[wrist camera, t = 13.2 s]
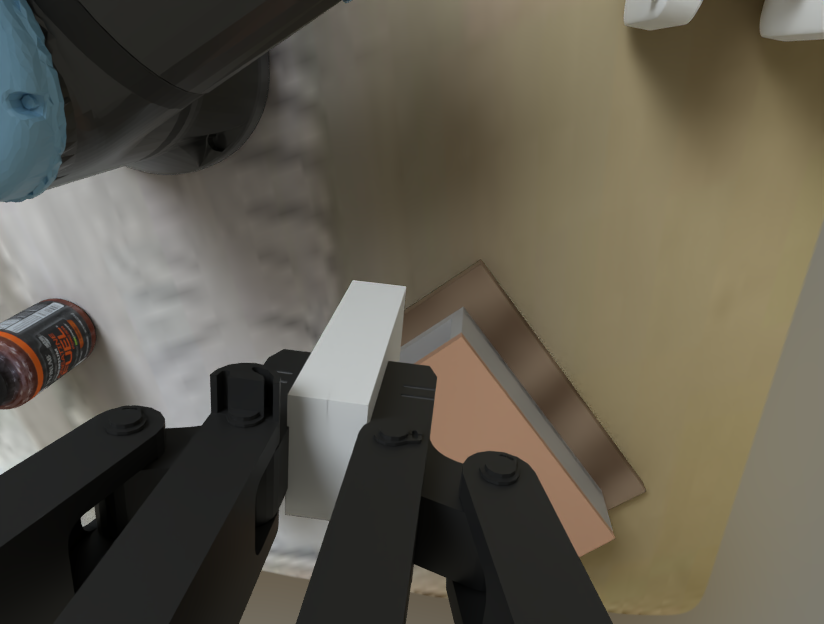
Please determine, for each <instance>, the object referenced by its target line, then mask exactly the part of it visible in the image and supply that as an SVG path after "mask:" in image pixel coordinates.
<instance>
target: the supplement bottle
mask: <svg viewBox="0 0 824 624" xmlns="http://www.w3.org/2000/svg"><path fill="white" fill-rule="evenodd" d="M95 341H96V334H95V328H94V326H93V323H92V322H91V320H90V318H89V317H88V316H87V314H86V313H85V312H84V311H83V310H82V309H81V308H80V307H79V306H77V305H75V304H73V303H71V302H69V301H66V300H63V299H47V300H44V301H41V302H39V303H37V304H35V305H33V306H31V307H29V308H27V309H26V310H24V311H22V312H20V313H18V314H16V315H14V316H13V317H11V318H9V319H7V320H5V321H3V322H1V323H0V409H12V408H16V407H19V406H21V405H23V404H25V403H26V402H28V401H29V400H31V399H32V398H33V397H35V396H36V395H38V394H39V393H40V392H42V391H43V390H44V389H46V388H47V387H49V386H50V385H51V384H52V383H54V382H55V381H56V380H58V379H59V378H61V377H62V376H63V375H65V374H66V373H67V372H69V371H70V370H71V369H73V368H74V367H75V366H77V365H78V364H79V363H81V362H82V361H83V360H84V359H85V358H87V357H88V356H89V355H90V354H91V352H92V351H93V348H94V346H95Z"/></svg>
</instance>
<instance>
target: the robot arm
mask: <svg viewBox="0 0 824 624" xmlns="http://www.w3.org/2000/svg"><path fill="white" fill-rule="evenodd" d="M340 1H342V0H0V202H22V201H24V200H26V199H31V198H34V197H36V196H38V195H40V194H41V193H43V192H44V191H45V190H48V189H51V188H54V187H58V186H61V185H64V184H67V183H71V182H74V181H77V180H80V179H84V178H87V177H90V176H93V175H96V174H100V173H103V172H106V171H109V170H113V169H116V168H119V167H122V166H126V167H129V168H132V169H135V170H139V171H142V172H147V173H152V174H161V175H176V174H185V173H190V172H194V171H197V170H200V169H203V168H206V167H208V166H211V165H213V164H215V163H218V162H220V161H222V160H223V159H225V158H227V157H228V156H230V155H231V154H232V153H234V152H235V151H236V150H237V149H238V148H240V147H241V146H242V145H243V143H244V142H245V141H246V140H247V139H248V138H249V136H250V135H251V134H252V132H253V130H254V129H255V127H256V125H257V123H258V122H259V119H260V117H261V115H262V112H263V109H264V106H265V103H266V99H267V94H268V88H269V74H270V73H269V56H268V51H269V50H271V49H272V48H274V47H275V46H277V45H278V44H279V43H281V42H282V41H284V40H285V39H287V38H288V37H290V36H291V35H292V34H294V33H295V32H297V31H298V30H300V29H301V28H303V27H304V26H305V25H307V24H308V23H310V22H311V21H313V20H314V19H316V18H317V17H319V16H320V15H321V14H323V13H324V12H326V11H327V10H329V9H330V8H332V7H333V6H334V5H336V4H337V3H339V2H340ZM343 1H344V2H345V3H349V2H350V1H352V0H343ZM405 295H406V286H399V285H390V284H382V283H373V282H365V281H356V280H353V281H352V283H351V284H350V286H349V288H348V290H347V291H346V293H345V295H344V297H343V298H342V300H341V302H340V304H339V305H338V307H337V309H336V311H335V312H334V314H333V316H332V318H331V319H330V321H329V323H328V325H327V326H326V328H325V330H324V332H323V333H322V335H321V337H320V339H319V340H318V342H317V344H316V346H315V347H314V349H313V351H312V353H310V352H302V351H294V350H286V349H283V350H281V351H280V352H278V353H276V354H274V355H272V356H271V357H269V358H268V359H267V361H266V362H265V364H264V365H261V364H257V363H238V364H231V365H227V366H224V367H222V368H219V369H217V370H216V371H214V372H213V373H212V374H210V387H211V414H210V415H209V417H208V418H207V419H206V421H205V422H204V423H203V425H202V426H195V427H184V428H166V429H165V418H164V417H163V415H162V414H161V413H160V412H159V411H157V410H155V409H153V408H149V407H143V406H133V405H132V406H122V407H119V408H115V409H111V410H108V411H106V412H103V413H101V414H99V415H97V416H95V417H94V418H92V419H90V420H89V421H87V422H85V423H84V424H82V425H81V426H79V427H77V428H76V429H74V430H73V431H71V432H69V433H68V434H66V435H64V436H63V437H61V438H60V439H58V440H56V441H55V442H53V443H51V444H50V445H48V446H47V447H45V448H43V449H42V450H40V451H38V452H37V453H35V454H34V455H32V456H30V457H29V458H27V459H25V460H24V461H22V462H21V463H19V464H17V465H16V466H14V467H13V468H11V469H9V470H8V471H6V472H4V473H3V474H1V475H0V624H239V622H240V619H241V617H242V615H243V612H244V610H245V607H246V605H247V603H248V601H249V598H250V596H251V594H252V591H253V589H254V586H255V584H256V582H257V579H258V577H259V574H260V572H261V570H262V567H263V565H264V563H265V560H266V558H267V556H268V553H269V551H270V549H271V546H272V544H273V541H274V539H275V537H276V534H277V531H278V524H279V507H280V505H281V503H282V500H283V498H284V496H285V515H293V516H300V517H307V518H314V519H321V520H328V521H329V524H328V527H327V530H326V533H325V536H324V539H323V542H322V546H321V549H320V552H319V555H318V558H317V561H316V564H315V567H314V570H313V573H312V576H311V579H310V582H309V585H308V588H307V591H306V594H305V597H304V600H303V603H302V606H301V610H300V613H299V616H298V619H297V622H296V624H406V618H407V610H408V602H409V595H410V588H411V583H412V576H413V567H414V564H415V565H418V566H420V567H422V568H425V569H427V570H429V571H432V572H434V573H436V574H439V575H441V576H444V577H446V590H447V594H448V598H449V602H450V607H451V611H452V615H453V619H454V623H455V624H613V623H612V621H611V619H610V617H609V615H608V613H607V611H606V609H605V607H604V605H603V603H602V601H601V599H600V597H599V596H598V594H597V592H596V590H595V588H594V586H593V584H592V582H591V580H590V578H589V576H588V574H587V572H586V570H585V568H584V566H583V564H582V562H581V560H580V558H579V556H578V555H577V553H576V551H575V549H574V547H573V545H572V543H571V541H570V539H569V537H568V535H567V533H566V531H565V529H564V527H563V525H562V523H561V521H560V519H559V517H558V516H557V514H556V512H555V510H554V508H553V506H552V504H551V502H550V500H549V498H548V496H547V494H546V492H545V490H544V488H543V486H542V484H541V482H540V480H539V478H538V476H537V475H536V473H535V471H534V470H533V469H532V468H531V466H530V465H529V464H528V463H526V462H525V461H523V460H522V459H520V458H518V457H516V456H513V455H511V454H508V453H505V452H497V451H485V452H477V453H475V454H473V455H471V456H469V457H468V458H467V459H466V460H465V462H464V463H460V462H457V461H455V460H452V459H450V458H448V457H446V456H444V455H443V454H441V453H440V452H439V451H438V450H437V449H436V448H435V447H434V446H433V444H432V443H431V441H430V434H431V426H432V417H433V409H434V400H435V392H436V383H437V376H436V375H435V373H434V371H433V370H432V368H431V367H430V366H426V365H418V364H410V363H402V362H399V360H400V349H401V338H402V328H403V317H404V306H405ZM285 494H286V495H285ZM94 506H95V514H96V519H94V520H93V521H92V522H91V523H89V524H88V525H86V526H84V527H82V525H81V517H82V516H83V515H84V514H85V513H86V512H88V511H89V510H90V509H91V508H93V507H94Z"/></svg>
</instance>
